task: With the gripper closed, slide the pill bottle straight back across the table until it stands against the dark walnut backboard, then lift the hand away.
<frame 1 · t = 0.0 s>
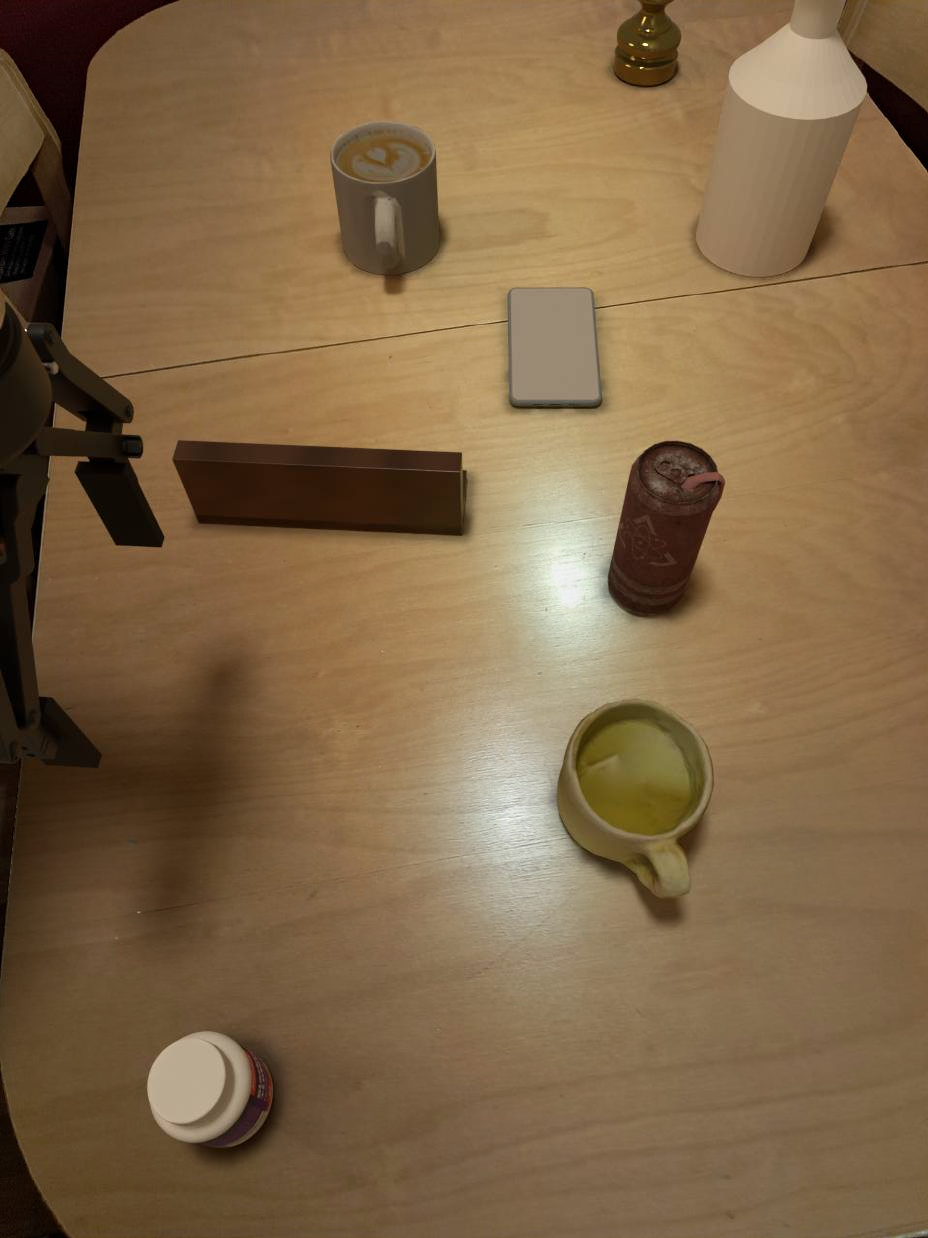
hand: (109, 643, 51), 18 cm above the table, tool pointing down, fingers open, 13 cm apart
salt shaker: (643, 72, 113), on the table
can: (646, 586, 74), on the table
coffee mug: (388, 255, 96), on the table
smartphone: (552, 350, 88), on the table
bottle: (751, 241, 96), on the table
mug: (627, 829, 64), on the table
backboard: (331, 519, 78), on the table
pill bottle: (230, 1096, 56), on the table
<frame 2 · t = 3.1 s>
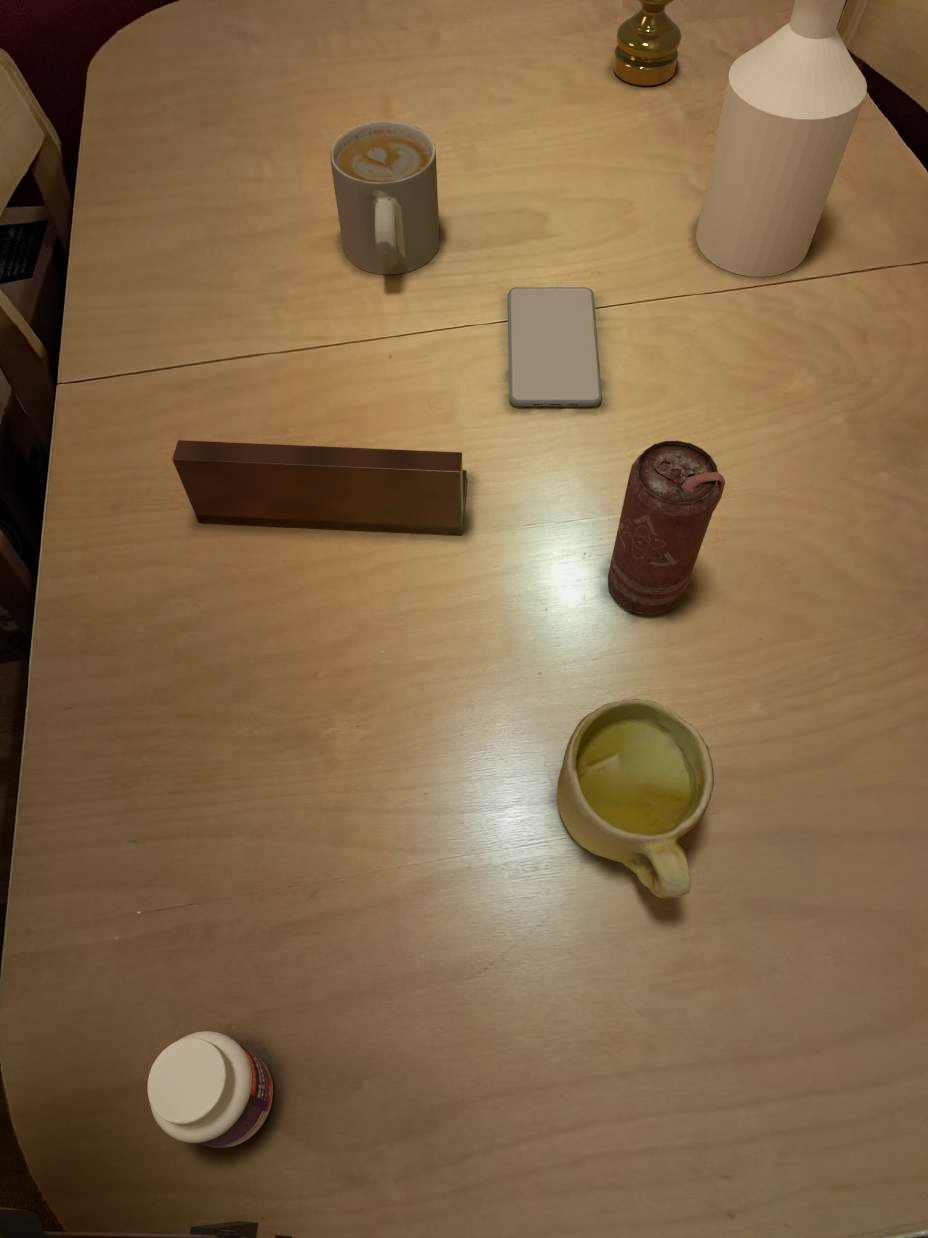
nothing on the table moved.
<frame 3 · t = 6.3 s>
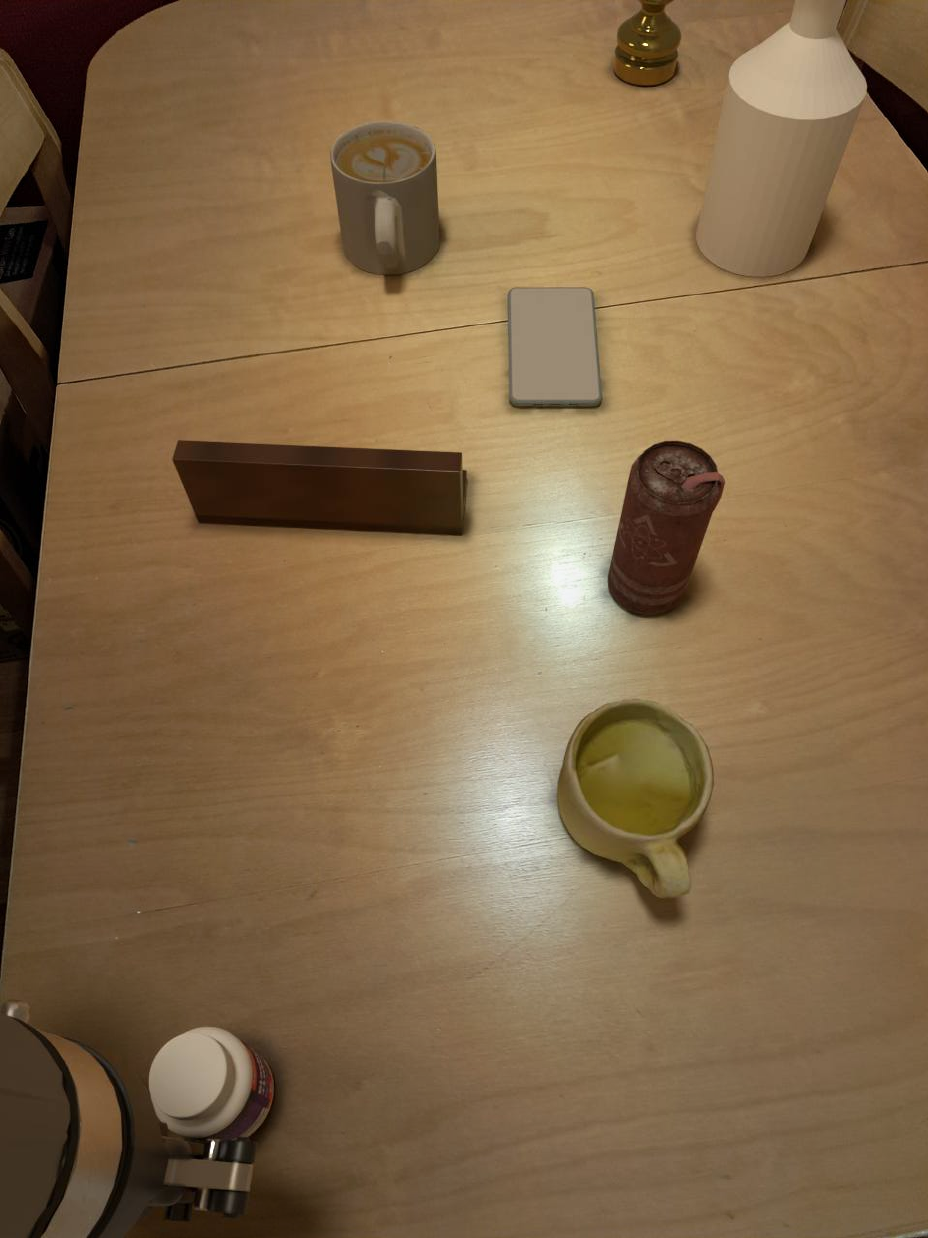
hand: (197, 1172, 50), 4 cm above the table, tool pointing down, fingers closed
pill bottle: (230, 1094, 56), on the table, touching gripper
everything else where it was.
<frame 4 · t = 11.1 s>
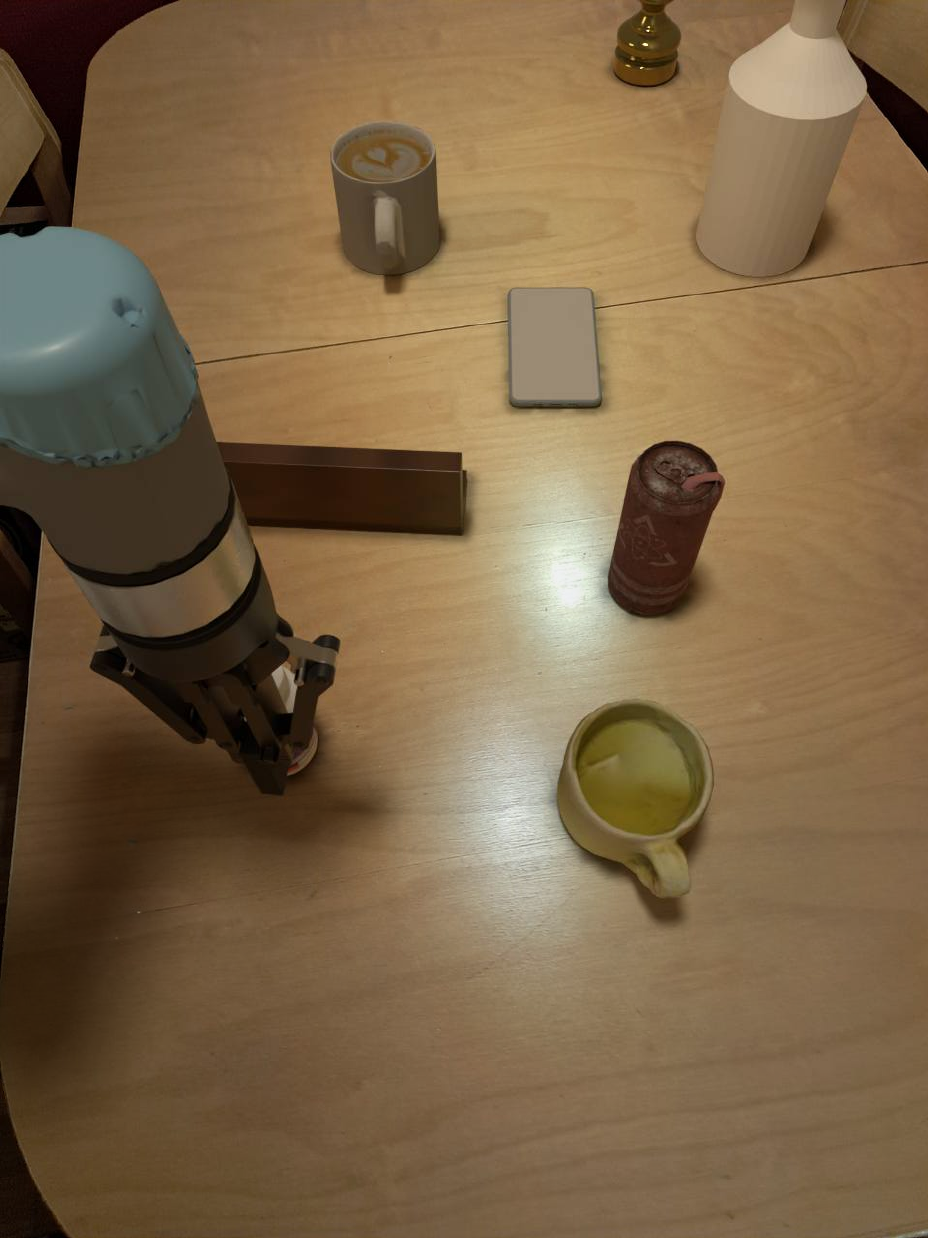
hand: (275, 775, 62), 4 cm above the table, tool pointing down, fingers closed
pill bottle: (281, 746, 68), on the table, touching gripper
everything else where it was.
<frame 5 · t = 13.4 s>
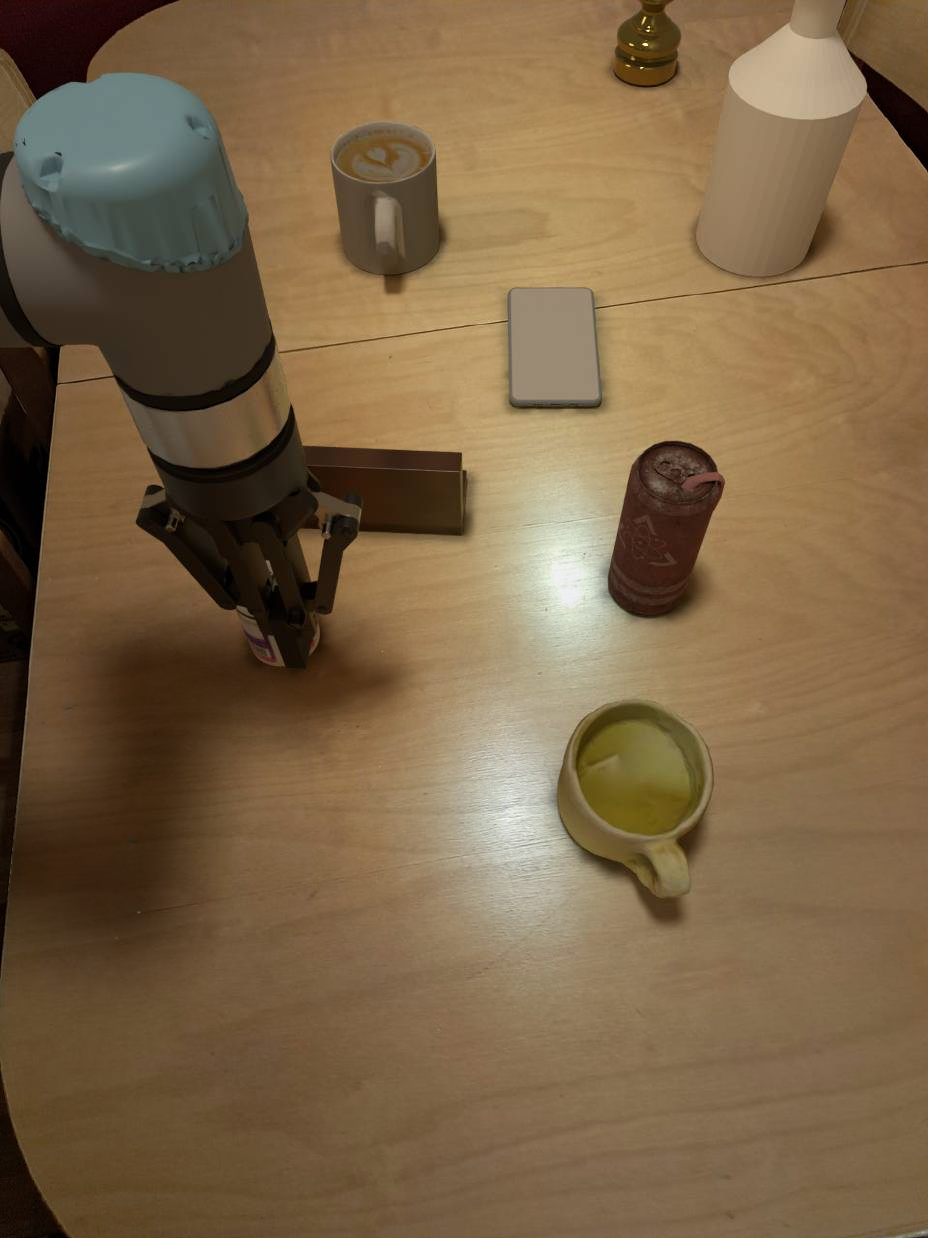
hand: (299, 652, 67), 4 cm above the table, tool pointing down, fingers closed
pill bottle: (286, 640, 72), on the table, touching gripper
everything else where it was.
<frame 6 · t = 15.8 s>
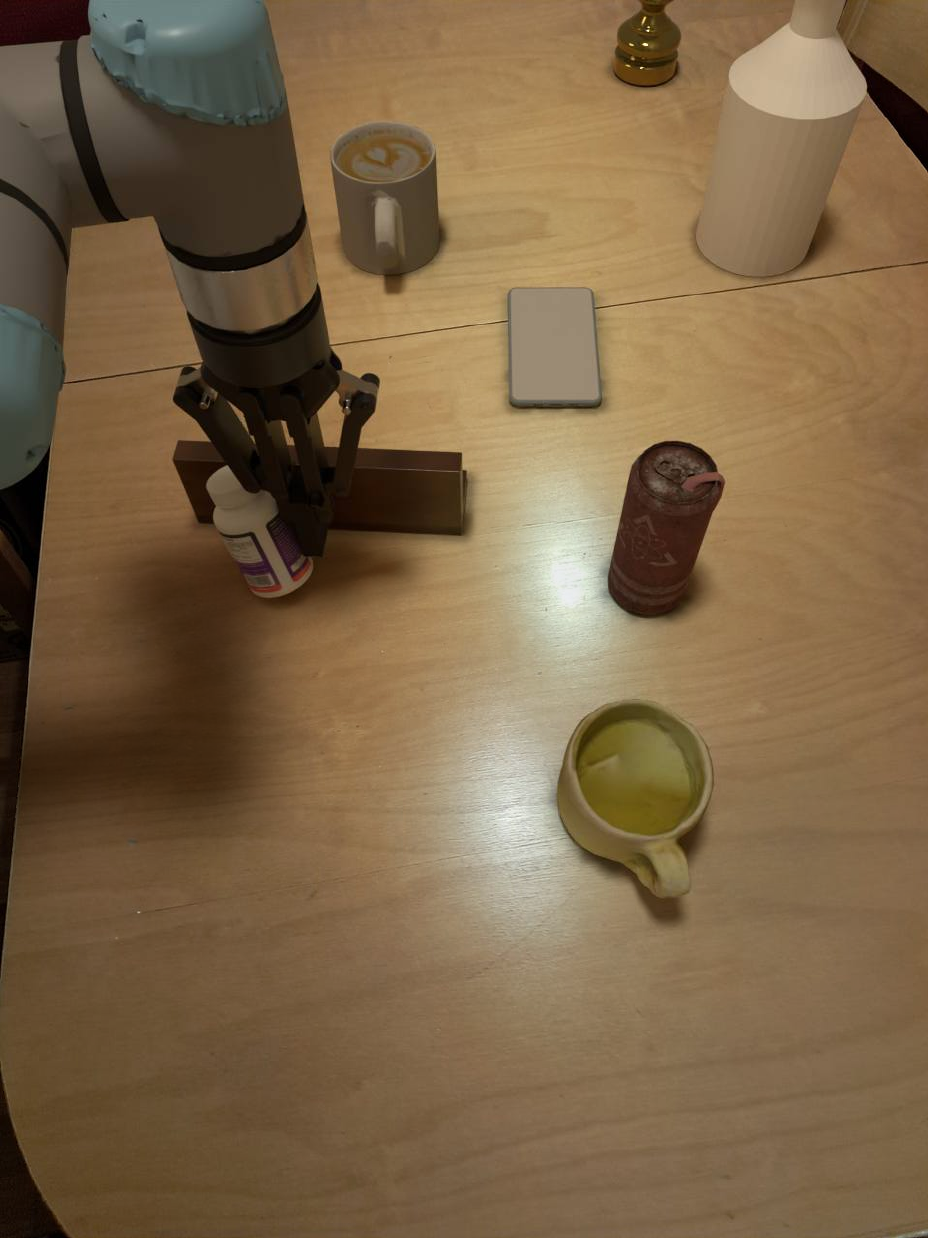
hand: (315, 542, 72), 4 cm above the table, tool pointing down, fingers closed
pill bottle: (283, 578, 74), point 1 cm above the table, touching gripper
everything else where it was.
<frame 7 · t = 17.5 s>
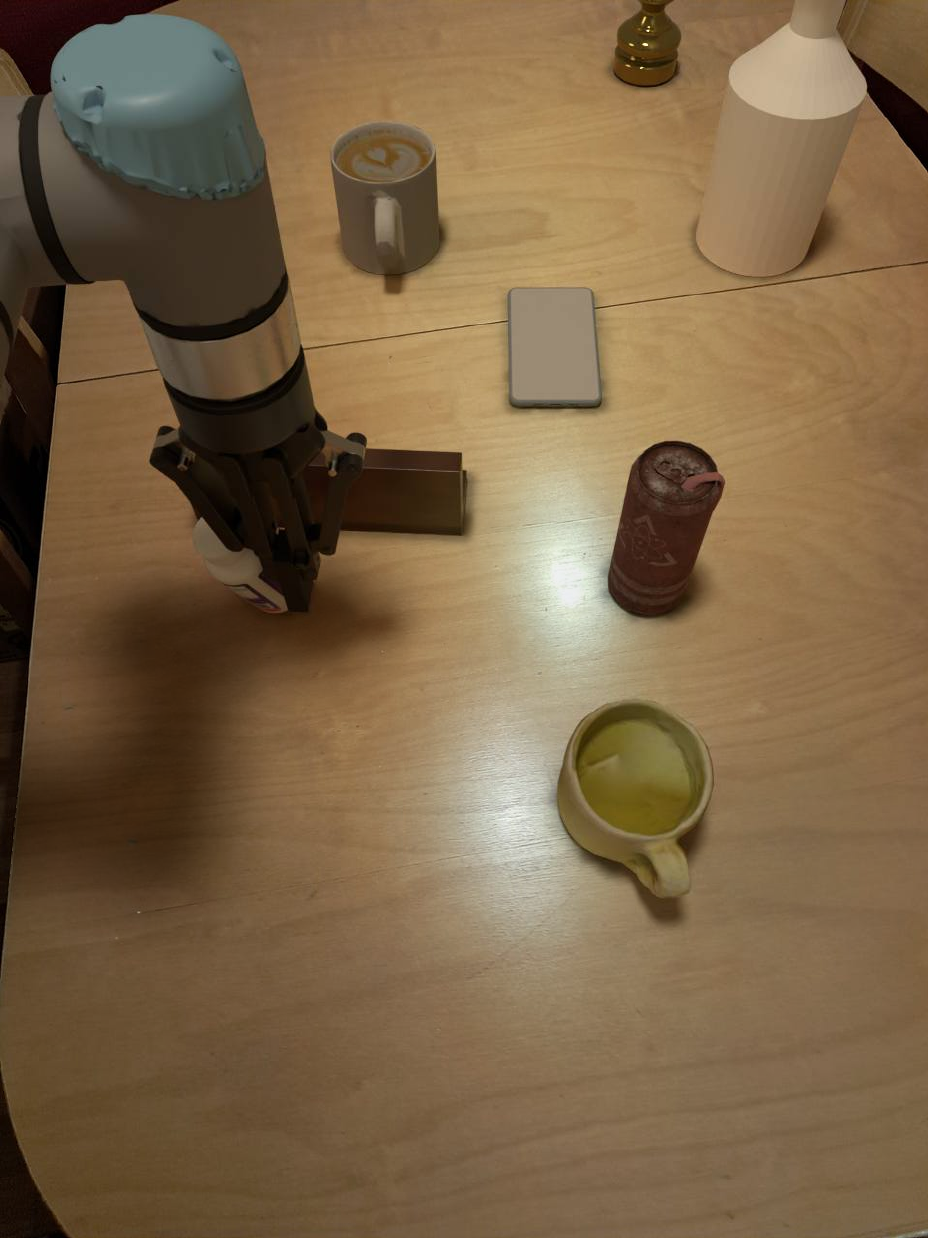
hand: (301, 596, 69), 4 cm above the table, tool pointing down, fingers closed
pill bottle: (282, 583, 74), point 1 cm above the table
everything else where it was.
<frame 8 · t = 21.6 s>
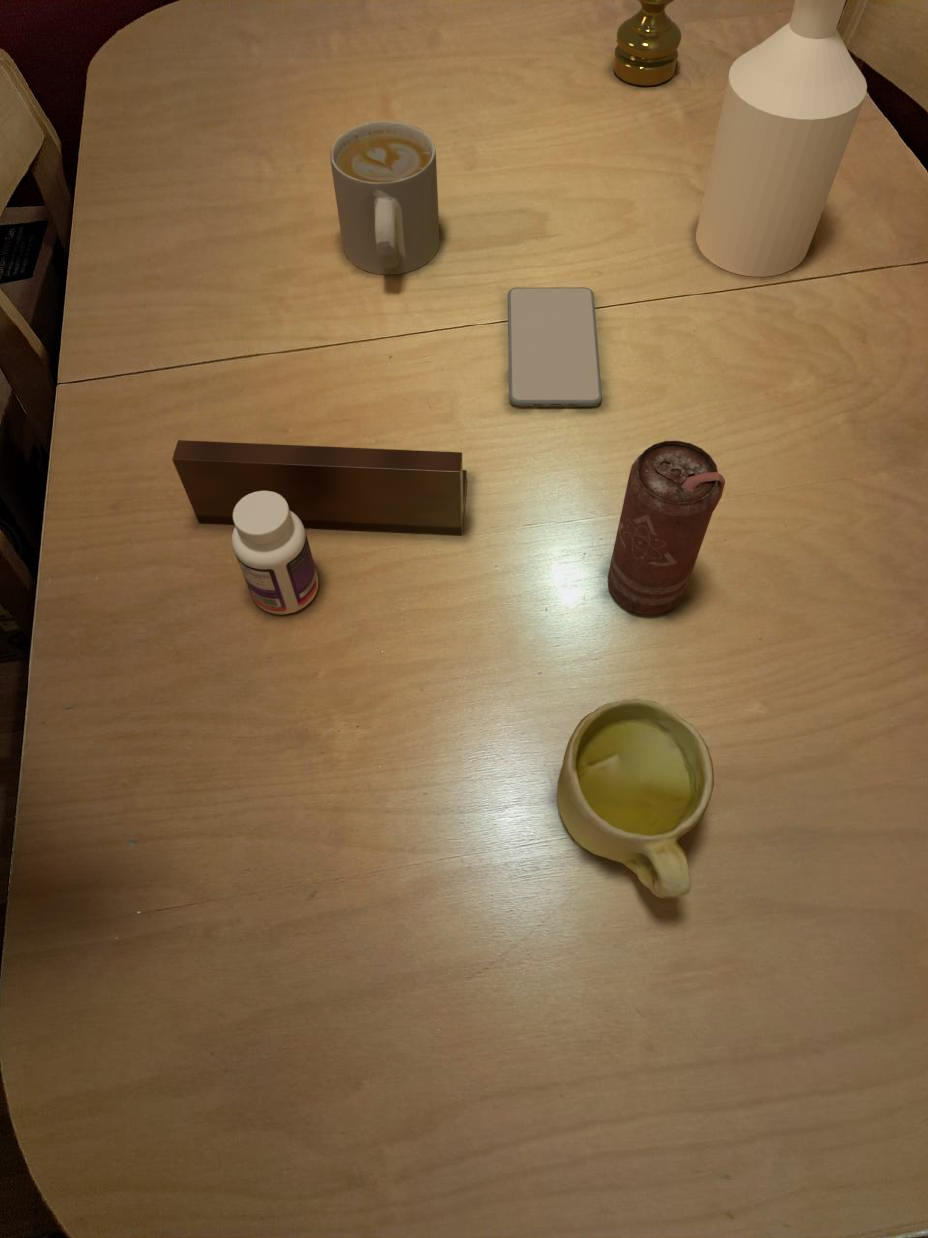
at the end: pill bottle inside the target area on the backboard (3.3 cm from its centre), point 0.0 cm above the backboard's base; pill bottle tilted 1° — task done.
